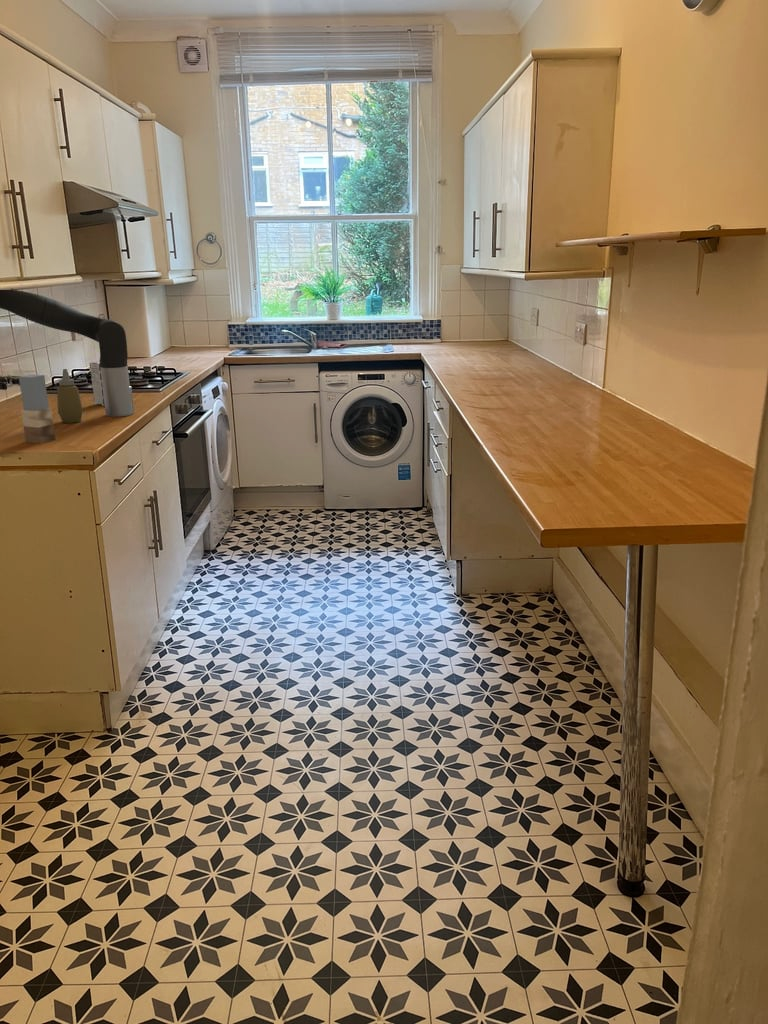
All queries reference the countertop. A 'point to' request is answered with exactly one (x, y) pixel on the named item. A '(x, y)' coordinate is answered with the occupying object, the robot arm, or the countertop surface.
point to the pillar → (33, 392)
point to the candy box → (97, 383)
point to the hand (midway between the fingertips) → (17, 384)
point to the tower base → (39, 434)
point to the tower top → (37, 418)
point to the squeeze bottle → (69, 400)
